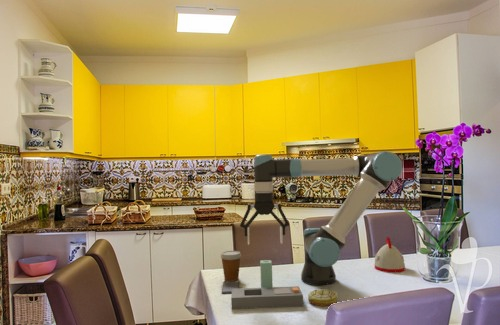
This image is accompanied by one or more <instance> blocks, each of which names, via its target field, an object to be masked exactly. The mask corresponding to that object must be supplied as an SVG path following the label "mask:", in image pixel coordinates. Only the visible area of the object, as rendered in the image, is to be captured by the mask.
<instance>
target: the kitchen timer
mask: <svg viewBox="0 0 500 325" xmlns="http://www.w3.org/2000/svg"><path fill="white" fill-rule="evenodd" d="M385 241H386V242H385V243H386V244H384V245H382V246H381V247H380V249H378V252H377V253H375V255H374V256H375V257H374V269H375V270H377V271H379V272H382V273H389V274H390V273H392V274H397V273H403V272H405V271H406V266H405V265H406V264H405V259H404V256H403V254H402V253H401V252H400V250H398V248H397V247H396V246H394V245H393V244H392V243H391V238H390V237H389V236H388V237H386V239H385Z"/></svg>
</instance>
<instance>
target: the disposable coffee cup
mask: <svg viewBox="0 0 500 325" xmlns="http://www.w3.org/2000/svg"><path fill="white" fill-rule="evenodd" d="M241 257H242V254H241V252H240V251H239V250H225V251H222V252H221V255H220V258H221V263H222V269H223V276H224V280H225V281H226V282H236V281H238V280H239V278H240V277H239V274H240V266H241V265H240V264H241Z"/></svg>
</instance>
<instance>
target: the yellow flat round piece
mask: <svg viewBox="0 0 500 325" xmlns="http://www.w3.org/2000/svg"><path fill="white" fill-rule="evenodd" d="M307 300H308V302H310V304H313V305H315V306H318V307H319V306H323V307H328V306H329V305H330V306H332V305H331V304H333V303H335V304H336V302H337V301H338V294H337V292H336V291H334V290H330V289H326V288H323V289H321V288H319V289H315V290H312V291H310V292H309V293H307ZM333 305H334V304H333ZM330 306H329V307H330Z"/></svg>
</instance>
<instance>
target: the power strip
mask: <svg viewBox="0 0 500 325" xmlns="http://www.w3.org/2000/svg"><path fill="white" fill-rule="evenodd" d="M230 298H231V300H230V301H231V302H230V303H231V306H230V307H231V309H232V310H240V309H241V310H242V309H244V310H245V309H267V308H269V309H271V308H292V307H294V308H296V307H300V308H301V307H304V294H303V293H302V291H301V289H300V287H299V285H298V286H276V287H275V286H273V287H267V288H261V287H244V288H243V287H241V288H240V287H239V288H238V289H232V294H231V297H230Z"/></svg>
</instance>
